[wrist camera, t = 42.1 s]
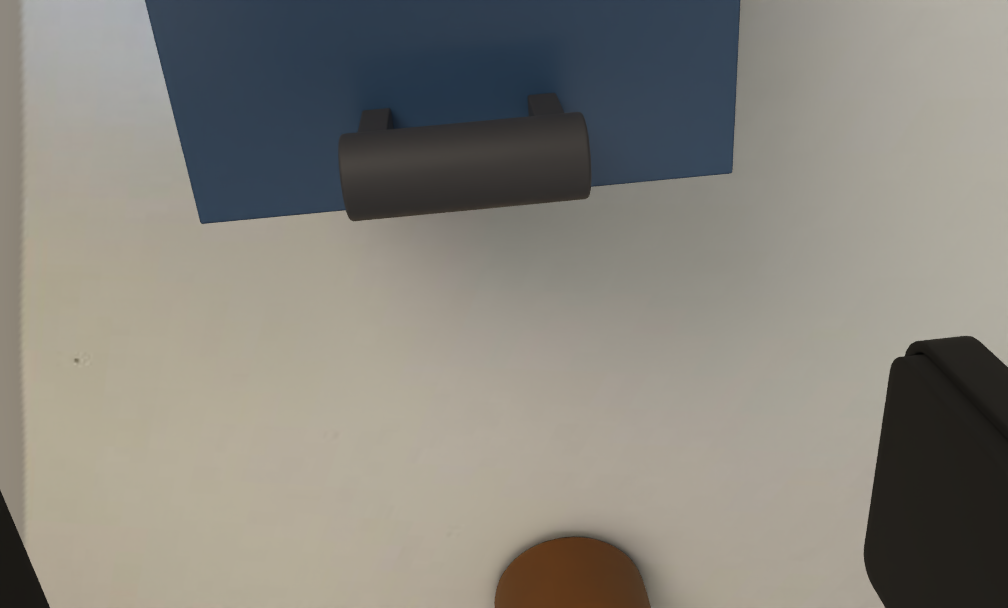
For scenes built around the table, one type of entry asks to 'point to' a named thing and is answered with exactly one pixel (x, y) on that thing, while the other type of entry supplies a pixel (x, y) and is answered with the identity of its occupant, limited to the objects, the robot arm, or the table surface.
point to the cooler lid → (442, 100)
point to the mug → (572, 577)
